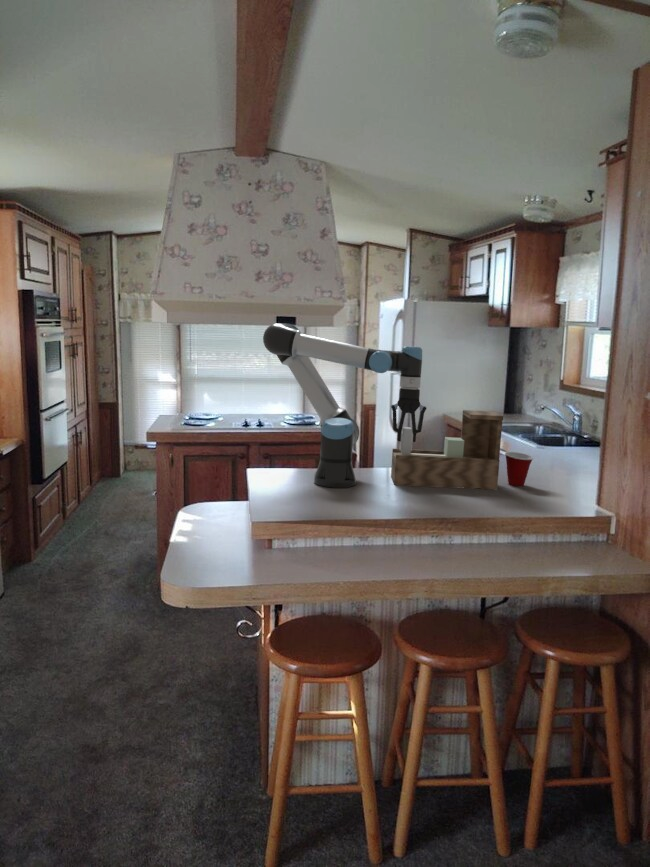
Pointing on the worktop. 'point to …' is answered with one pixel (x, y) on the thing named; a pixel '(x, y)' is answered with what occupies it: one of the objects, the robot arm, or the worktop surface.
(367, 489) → the worktop surface
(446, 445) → the tethered block
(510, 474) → the plastic cup
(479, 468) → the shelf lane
